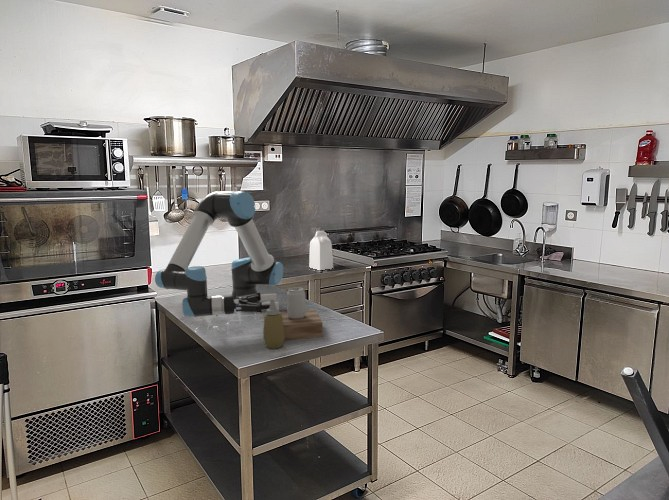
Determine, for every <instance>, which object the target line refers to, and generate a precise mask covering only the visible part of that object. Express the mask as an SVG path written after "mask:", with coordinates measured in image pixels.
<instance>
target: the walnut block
mask: <svg viewBox="0 0 669 500" xmlns="http://www.w3.org/2000/svg"><path fill="white" fill-rule="evenodd" d="M279 314H281V315H282V320H283V327H284V334H285V338H284V341H288V340H297V339H298V340H299V339H310V338H311V339H312V338H323V336H324V335H323V321H322V319H321V317H320V315H319V313H318V311H317V310H316V309H308V310H307V309H306V316H305V317H304V318H302V319H290V318H289V317H288V312H287V311H279Z"/></svg>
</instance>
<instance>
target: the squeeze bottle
mask: <svg viewBox="0 0 669 500" xmlns="http://www.w3.org/2000/svg"><path fill="white" fill-rule="evenodd" d="M275 302H276V301H275V300H273V299H272V300H271V301H269V303H270V308H269V309H267V310H266V314H265V315H264V319H263V335H262V336H263V337H262V338H263V340H264V342H265V345H266V348H267V349H279V348H281V347H282V346H283V344H284V341H285V340H284V338H285V334H284V327H283V320H282V315H281V314H279V312H280V308H279V309H278V308H276V305H275Z"/></svg>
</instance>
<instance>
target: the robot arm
mask: <svg viewBox="0 0 669 500" xmlns="http://www.w3.org/2000/svg"><path fill="white" fill-rule="evenodd" d="M255 206H256V202H255V200H254V197H253V196H252V195H251V194H250V193H249V192H246V191H240V190H235V191H218V190H217V191H213V192H210V193H209V194H207V195H206V196H205V197H203V198H202V199H201V200H200V202H199V203H198V204H197V205H196V206H195V208H194V210H193V212H192V214H191V216H192V218H191V221H190V223H189V225H188V226H187V228H186V230H185V232H184V234H183V236H182V238H181V240H180V241H179V243H178V245H177V247H176V249H175V250H174V252H173V254H172V256H171V258H170V261H169V262H168V264H167V265H166V267H165V269H164V268H163V269H160V270H158V271H156V274H155V277H154V282H155V284H156V286H157V287H158V288H160V289H166V290H179V291H186V293H187V294H186V295H187V297H184V298H183V299H182V302H181V303H182V306H181V307H182V309H181V310H182V314H183V315H184V317H186V318H190V317H191V318H193V317H194V318H197V317H207V316H216V317H218V316H221V315H224V314H225V315H234V314H235V312H238V313H239V312H245V313H246V312H247V313H260V314H261V313H263V311H267V309H269V308H270V302H271V300H272V299H273V300H274V302H275V305H276V308H278V309H279V310H280V303H279V301H277V300H278V299H277V297H278V296H277V293H264V294H261V292H258V288H257V285H258V286H269V287H274V286H278V285H279V284H280V283H281V281H282V279H283V276H284V265H283V264H282V262H280V261H276V259H275V257H274V256H273V255H272V254H270V253H269V252H268V250H267V248H266V245H265V244H264V241H263V239H262V237H261V235H260V233H259V230H258V229H257V226H256V224H255V222H254V220H253V219H254V216H255V213H256V207H255ZM217 219H226V220H227V222H228V225H229V226H230V227H233V228H235V230H236V232H237V235H238V237H239V239H240V240H241V243H242V245H243V248H244V249H245V250H246V253H247V254H248V257H244V258H237V259H233V261H232V262H231V278H232V279H231V281H232V291H231V294H226V295H225V294H224V295H221V294H220V295H211V296H210V295H209V296H208V282H207V281H208V280H207V278H208V277H207V273H206V268H205V267H204V266H201V265H198V266H197V265H194V266H190V264H191V263H192V260H193V258H194V257H195V254H196V252H197V251H198V248H199V247H200V245H201V243H202V241H203V239H204V237H205V235H206V233H207V231H208V229H209V227H210V226H212V225H213V224H214V223H215V221H216V220H217ZM261 302H262V303H261Z"/></svg>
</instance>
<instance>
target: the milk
mask: <svg viewBox="0 0 669 500" xmlns="http://www.w3.org/2000/svg"><path fill="white" fill-rule="evenodd" d="M333 259H334V258H333V245H332V240H331V239H330V238H329V237H328V236H327V234H326V232H325V230H318V231H315V234H314V236H313V238H312V239H311V240H310V242H309V259H308V262H309V263H308V264H309V265H308V268H309V267H310V268H313V269H317V270H325V269H330V270H333V269H334V260H333ZM332 268H333V269H332ZM325 271H326V270H325Z"/></svg>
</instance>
